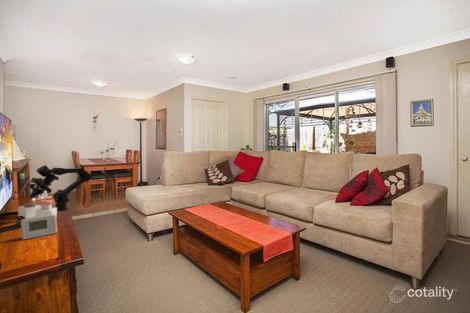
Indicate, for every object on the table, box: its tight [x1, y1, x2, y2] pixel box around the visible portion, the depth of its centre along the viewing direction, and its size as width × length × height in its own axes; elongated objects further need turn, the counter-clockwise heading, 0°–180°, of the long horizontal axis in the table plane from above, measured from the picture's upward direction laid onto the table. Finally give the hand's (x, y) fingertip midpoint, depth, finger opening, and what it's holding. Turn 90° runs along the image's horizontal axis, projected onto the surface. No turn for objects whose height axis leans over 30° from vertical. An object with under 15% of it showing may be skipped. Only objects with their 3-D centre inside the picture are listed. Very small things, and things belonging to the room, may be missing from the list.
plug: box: [23, 202, 37, 207], centre depth 174 cm, size 6×6×8 cm
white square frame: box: [35, 206, 58, 218], centre depth 168 cm, size 9×9×7 cm
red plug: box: [40, 199, 54, 210], centre depth 168 cm, size 6×6×8 cm
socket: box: [17, 204, 41, 219], centre depth 174 cm, size 9×9×7 cm
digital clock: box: [20, 214, 58, 240], centre depth 138 cm, size 16×9×11 cm, turn 133°
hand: (30, 197), depth 173 cm, fingers closed
